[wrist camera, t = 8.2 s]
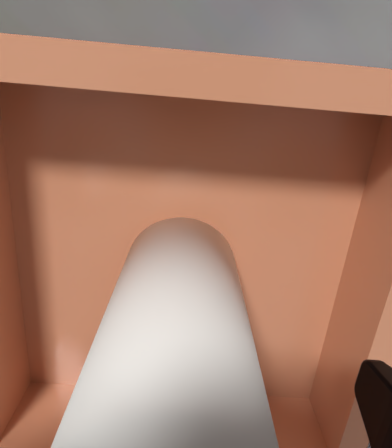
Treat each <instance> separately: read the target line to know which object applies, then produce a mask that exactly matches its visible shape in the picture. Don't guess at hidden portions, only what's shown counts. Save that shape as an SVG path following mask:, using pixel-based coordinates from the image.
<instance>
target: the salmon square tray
mask: <svg viewBox="0 0 392 448" xmlns="http://www.w3.org/2000/svg"><path fill="white" fill-rule="evenodd" d="M176 217H185V218H193V219H196V220H200V221H202V222H205V223H207V224H209V225H211V226H212V227H214V228H215V229H216V230H218V231H219V232H220V233H221V234H222V235H223V236H224V237H225V239H226V240H227V241H228V243H229V245H230V246H231V249H232V251H233V254H234V258H235V263H236V267H237V271H238V275H239V280H240V284H241V288H242V292H243V297H244V301H245V305H246V309H247V314H248V318H249V322H250V326H251V331H252V335H253V339H254V343H255V348H256V352H257V356H258V360H259V365H260V369H261V373H262V377H263V382H264V386H265V390H266V394H267V399H268V403H269V407H270V411H271V416H272V420H273V424H274V428H275V433H276V437H277V441H278V445H279V448H367V447H368V444H369V439H368V436H367V432H366V429H365V426H364V423H363V419H362V416H361V413H360V410H359V407H358V403H357V400H356V397H355V392H354V385H355V382H356V378H357V375H358V372H359V369H360V366H361V363H362V362H363V360H366V359H371V360H381V361H383V362H385V363H386V364H387V365H389V366H390V367H392V69H385V68H375V67H364V66H353V65H342V64H331V63H320V62H309V61H298V60H288V59H277V58H266V57H255V56H244V55H233V54H222V53H212V52H201V51H190V50H179V49H168V48H157V47H146V46H136V45H125V44H114V43H103V42H92V41H81V40H70V39H60V38H49V37H38V36H27V35H16V34H5V33H0V448H51V445H52V443H53V440H54V438H55V435H56V433H57V430H58V428H59V425H60V423H61V420H62V418H63V415H64V413H65V410H66V408H67V405H68V403H69V400H70V398H71V395H72V393H73V390H74V388H75V385H76V383H77V380H78V378H79V375H80V373H81V370H82V368H83V365H84V363H85V360H86V358H87V355H88V353H89V350H90V348H91V345H92V343H93V340H94V338H95V335H96V333H97V330H98V328H99V325H100V323H101V320H102V318H103V315H104V313H105V311H106V308H107V306H108V303H109V301H110V298H111V296H112V293H113V291H114V288H115V286H116V283H117V281H118V278H119V276H120V273H121V271H122V268H123V266H124V263H125V261H126V258H127V256H128V253H129V251H130V248H131V246H132V244H133V242H134V241H135V239H136V238H137V237H138V235H139V234H140V233H141V232H142V231H143V230H145V229H146V228H147V227H149V226H150V225H152V224H154V223H156V222H159V221H161V220H165V219H169V218H176Z"/></svg>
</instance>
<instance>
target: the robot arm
mask: <svg viewBox="0 0 392 448" xmlns="http://www.w3.org/2000/svg"><path fill="white" fill-rule="evenodd" d="M354 392H355V397H356V400H357V403H358V407H359V410H360V413H361V416H362V419H363V423H364V426H365V429H366V432H367V436H368V439H369V442H370V445H371V448H392V367H390V366H389V365H387V364H386V363H385V362H383V361H381V360H371V359H366V360H363V362H362V363H361V366H360V369H359V372H358V375H357V378H356V382H355V385H354Z"/></svg>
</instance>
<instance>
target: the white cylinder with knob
mask: <svg viewBox="0 0 392 448" xmlns="http://www.w3.org/2000/svg"><path fill="white" fill-rule="evenodd" d="M51 448H279V445H278V441H277V437H276V433H275V428H274V424H273V420H272V416H271V411H270V407H269V403H268V399H267V394H266V390H265V386H264V382H263V377H262V373H261V369H260V365H259V360H258V356H257V352H256V348H255V343H254V339H253V335H252V331H251V326H250V322H249V318H248V314H247V309H246V305H245V301H244V297H243V292H242V288H241V284H240V280H239V275H238V271H237V267H236V263H235V258H234V254H233V251H232V249H231V246H230V245H229V243H228V241H227V240H226V239H225V237H224V236H223V235H222V234H221V233H220V232H219V231H218V230H216V229H215V228H214V227H212V226H211V225H209V224H207V223H205V222H202V221H200V220H196V219H193V218H185V217H176V218H169V219H165V220H161V221H159V222H156V223H154V224H152V225H150V226H149V227H147V228H146V229H145V230H143V231H142V232H141V233H140V234H139V235H138V237H137V238H136V239H135V241H134V242H133V244H132V246H131V248H130V251H129V253H128V256H127V258H126V261H125V263H124V266H123V268H122V271H121V273H120V276H119V278H118V281H117V283H116V286H115V288H114V291H113V293H112V296H111V298H110V301H109V303H108V306H107V308H106V311H105V313H104V315H103V318H102V320H101V323H100V325H99V328H98V330H97V333H96V335H95V338H94V340H93V343H92V345H91V348H90V350H89V353H88V355H87V358H86V360H85V363H84V365H83V368H82V370H81V373H80V375H79V378H78V380H77V383H76V385H75V388H74V390H73V393H72V395H71V398H70V400H69V403H68V405H67V408H66V410H65V413H64V415H63V418H62V420H61V423H60V425H59V428H58V430H57V433H56V435H55V438H54V440H53V443H52V445H51Z"/></svg>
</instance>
